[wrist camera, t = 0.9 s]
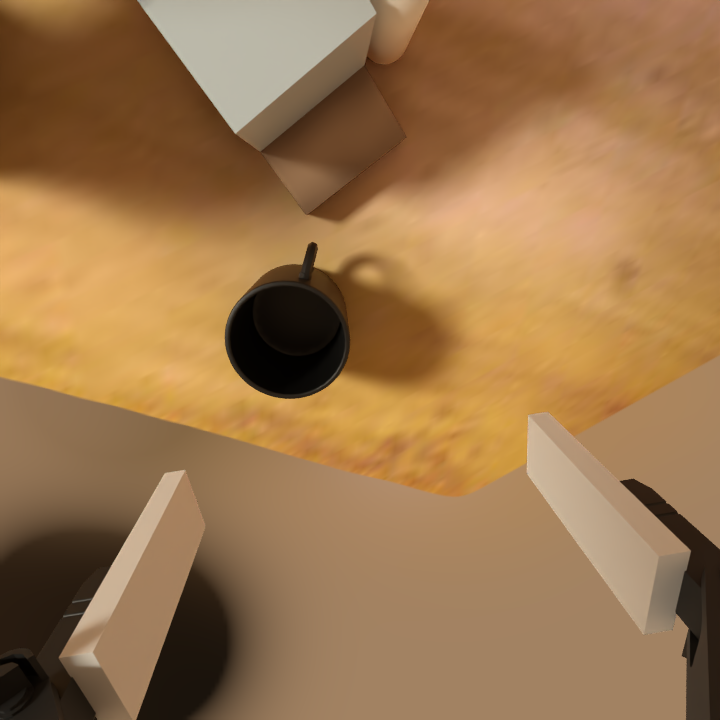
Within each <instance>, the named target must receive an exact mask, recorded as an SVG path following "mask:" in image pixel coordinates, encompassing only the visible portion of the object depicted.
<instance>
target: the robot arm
mask: <svg viewBox="0 0 720 720" xmlns="http://www.w3.org/2000/svg"><path fill="white" fill-rule="evenodd" d="M527 474H528V476H529V477H530V478H531V480H532V481H533V482H534V484H535V485H536V487H537V488H538V490H539V491H540V492H541V494H542V495H543V496H544V498H545V499H546V500H547V502H548V503H549V505H550V506H551V507H552V509H553V510H554V512H555V513H556V514H557V516H558V517H559V518H560V520H561V521H562V523H563V524H564V525H565V527H566V528H567V530H568V531H569V532H570V534H571V535H572V536H573V538H574V539H575V541H576V542H577V543H578V545H579V546H580V547H581V549H582V550H583V552H584V553H585V554H586V556H587V557H588V558H589V560H590V561H591V563H592V564H593V565H594V567H595V568H596V570H597V571H598V572H599V574H600V575H601V576H602V578H603V579H604V580H605V582H606V583H607V585H608V586H609V587H610V589H611V590H612V592H613V593H614V594H615V596H616V597H617V599H618V600H619V601H620V603H621V604H622V605H623V607H624V608H625V610H626V611H627V612H628V614H629V615H630V616H631V618H632V619H633V620H634V622H635V623H636V625H637V626H638V627H639V629H640V630H641V632H642V633H643V634H644V635H646V634H652V633H657V632H663V631H669V630H673V626H674V622H675V618H676V614H677V615H678V616H679V617H680V618H681V620H682V621H683V622H684V623H685V624H686V625H687V627H688V628H689V630H688V633H687V638H686V642H685V646H684V649H683V653H682V656H683V657H685V658H687V680H686V682H687V683H686V687H687V689H686V720H720V549H719V548H717V547H716V546H715V545H714V544H713V543H712V542H711V541H709V539H707V538H706V537H705V536H704V535H703V534H702V533H700V531H699V530H697V529H696V528H695V527H694V526H693V525H692V524H691V523H689V522H688V521H687V520H686V519H685V518H684V517H683V516H682V515H680V514H678V513H677V511H676V510H675V509H674V508H673V507H672V506H671V505H669V504H667V503H666V501H665V500H664V499H662V497H660V495H658V494H657V493H656V492H655V491H654V490H653V489H652V488H650V487H648V486H646V485H644V484H642V483H640V482H638V481H637V480H635V479H629V480H623V481H619V480H618V479H616V478H615V477H614V476H613V475H612V474H611V473H610V472H609V471H608V470H607V469H606V468H605V467H604V466H603V465H602V464H601V463H600V462H599V461H598V460H597V459H596V458H595V457H594V456H593V455H592V454H591V453H590V452H589V451H588V450H587V449H586V448H585V447H584V446H583V445H582V444H580V443H579V442H578V441H577V440H576V439H575V438H574V437H573V436H572V435H571V434H570V433H569V432H568V431H567V430H566V429H565V428H564V427H563V426H562V425H561V424H560V423H559V422H558V421H557V420H556V419H555V418H554V417H553V416H552V415H551V414H550V413H549V412H543V413H537V414H531V415H528V445H527ZM204 529H205V523H204V520H203V517H202V515H201V512H200V509H199V506H198V503H197V501H196V498H195V495H194V492H193V490H192V487H191V484H190V482H189V479H188V476H187V473H186V471H185V470H182V471H176V472H170V473H165V474H164V476H163V478H162V479H161V481H160V483H159V484H158V486H157V488H156V490H155V492H154V493H153V495H152V497H151V499H150V500H149V502H148V504H147V505H146V507H145V509H144V510H143V513H142V514H141V516H140V517H139V519H138V521H137V523H136V525H135V526H134V528H133V530H132V531H131V533H130V535H129V536H128V538H127V540H126V542H125V544H124V545H123V547H122V549H121V551H120V552H119V554H118V556H117V557H116V559H115V561H114V563H113V564H112V566H109V567H102V568H98V569H97V570H96V571H95V572H94V573H93V574H92V575H91V576H90V577H89V578H88V579H87V580H86V581H85V582H84V583H83V584H82V586H81V588H80V589H79V591H78V593H77V594H76V596H75V597H74V599H73V600H72V604H70V605H69V607H68V608H67V610H66V612H65V613H64V615H63V619H61V620H60V621H59V623H58V625H57V626H56V628H55V629H54V631H53V632H52V634H51V636H50V638H49V639H48V640H47V642H46V644H45V645H44V647H43V649H42V650H41V652H40V654H39V655H38V657H37V658H35V656H34V655H33V654H32V652H31V651H30V650H29V649H25V648H19V649H15V650H11V651H8V652H6V653H4V654H2V655H1V656H0V720H93V719H94V716H96V717H97V719H98V720H136V718H137V715H138V712H139V709H140V707H141V704H142V701H143V698H144V696H145V693H146V690H147V687H148V685H149V682H150V679H151V676H152V673H153V671H154V668H155V665H156V662H157V660H158V657H159V654H160V651H161V649H162V646H163V643H164V640H165V637H166V634H167V632H168V629H169V626H170V624H171V621H172V618H173V615H174V613H175V610H176V607H177V604H178V601H179V599H180V596H181V593H182V590H183V588H184V585H185V582H186V579H187V577H188V574H189V571H190V568H191V565H192V563H193V560H194V557H195V554H196V551H197V549H198V546H199V543H200V540H201V538H202V535H203V532H204Z"/></svg>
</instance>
